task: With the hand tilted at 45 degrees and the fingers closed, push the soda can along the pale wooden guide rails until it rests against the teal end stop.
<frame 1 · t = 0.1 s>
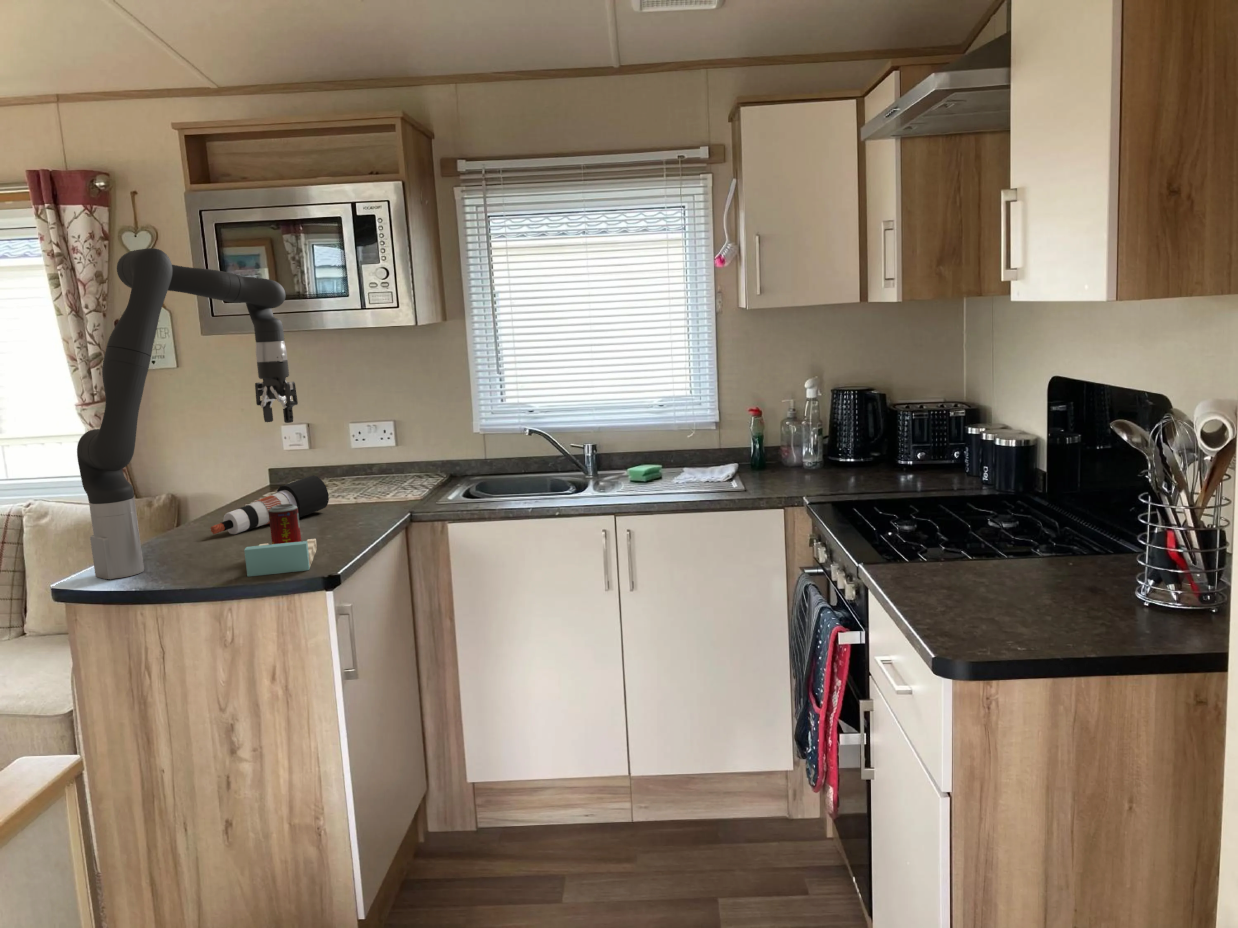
hand: (278, 422, 257), 29 cm above the worktop, tool pointing down, fingers open, 8 cm apart
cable: (269, 525, 272), on the worktop
guide rails: (284, 560, 230), on the worktop
soda can: (288, 554, 237), on the worktop
end stop: (279, 571, 220), on the worktop
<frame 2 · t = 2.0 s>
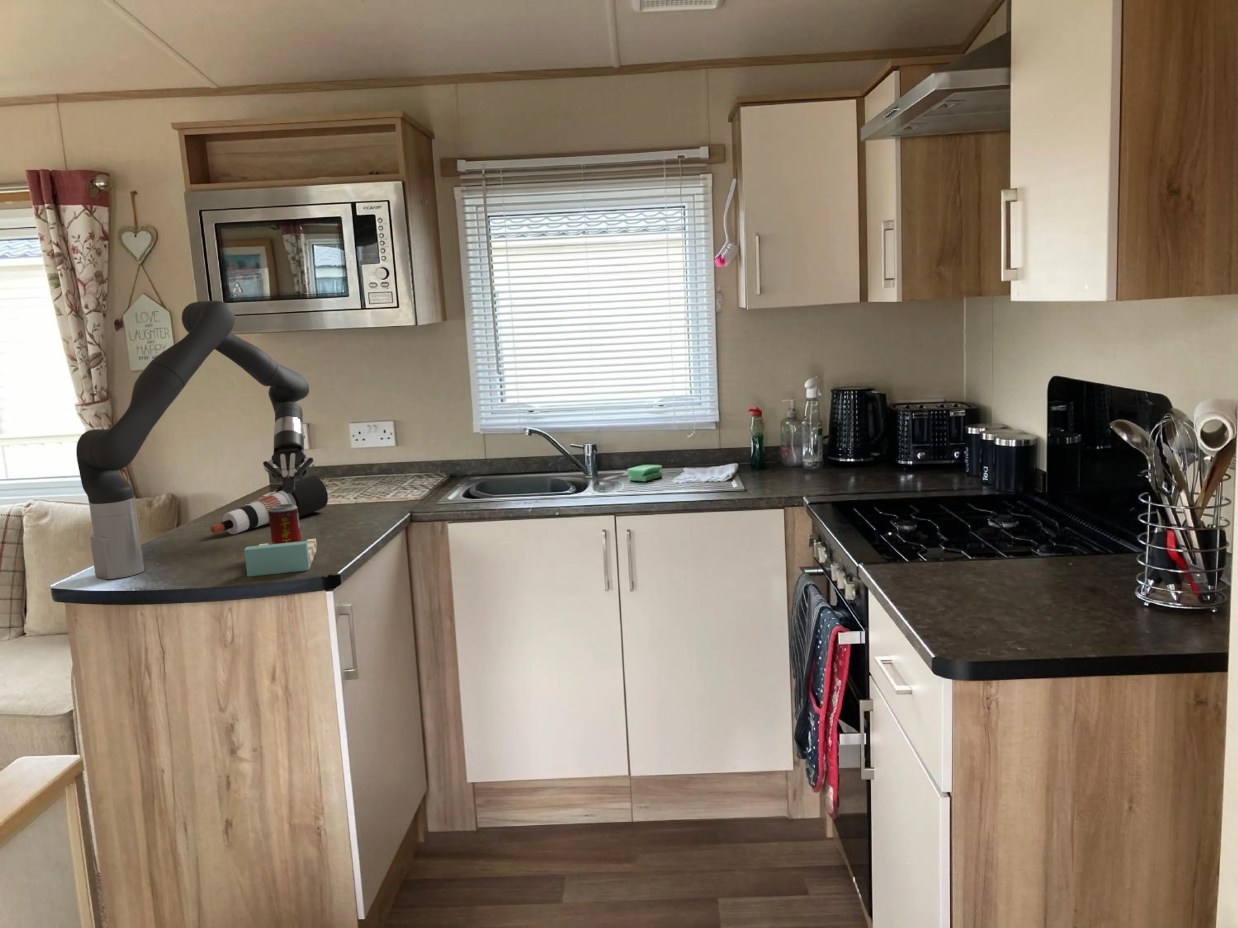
hand: (288, 491, 250), 12 cm above the worktop, tool tilted 45°, fingers closed
nothing on the worktop moved.
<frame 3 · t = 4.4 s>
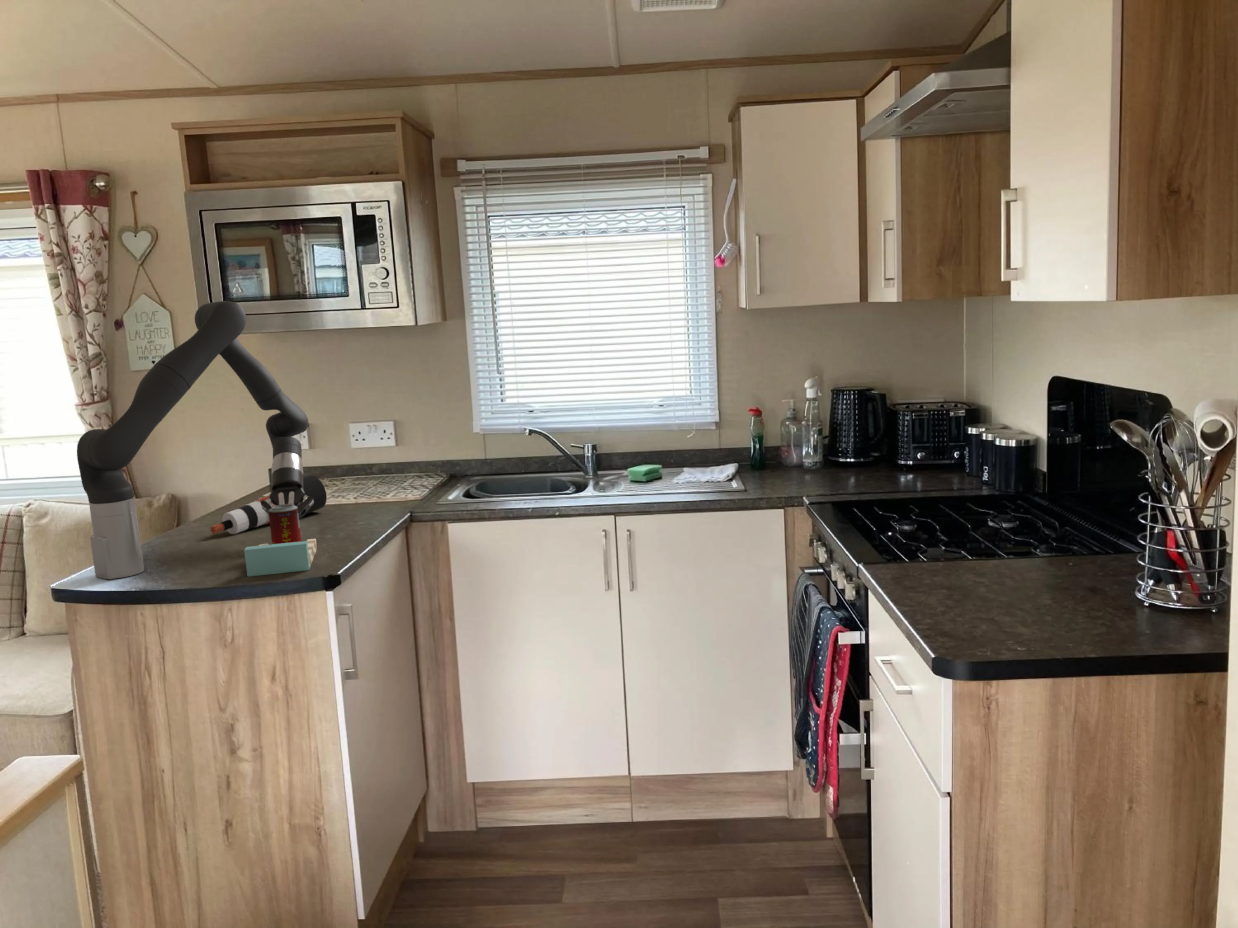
hand: (287, 532, 240), 4 cm above the worktop, tool tilted 45°, fingers closed
soda can: (288, 554, 237), on the worktop, touching gripper
everything else where it was.
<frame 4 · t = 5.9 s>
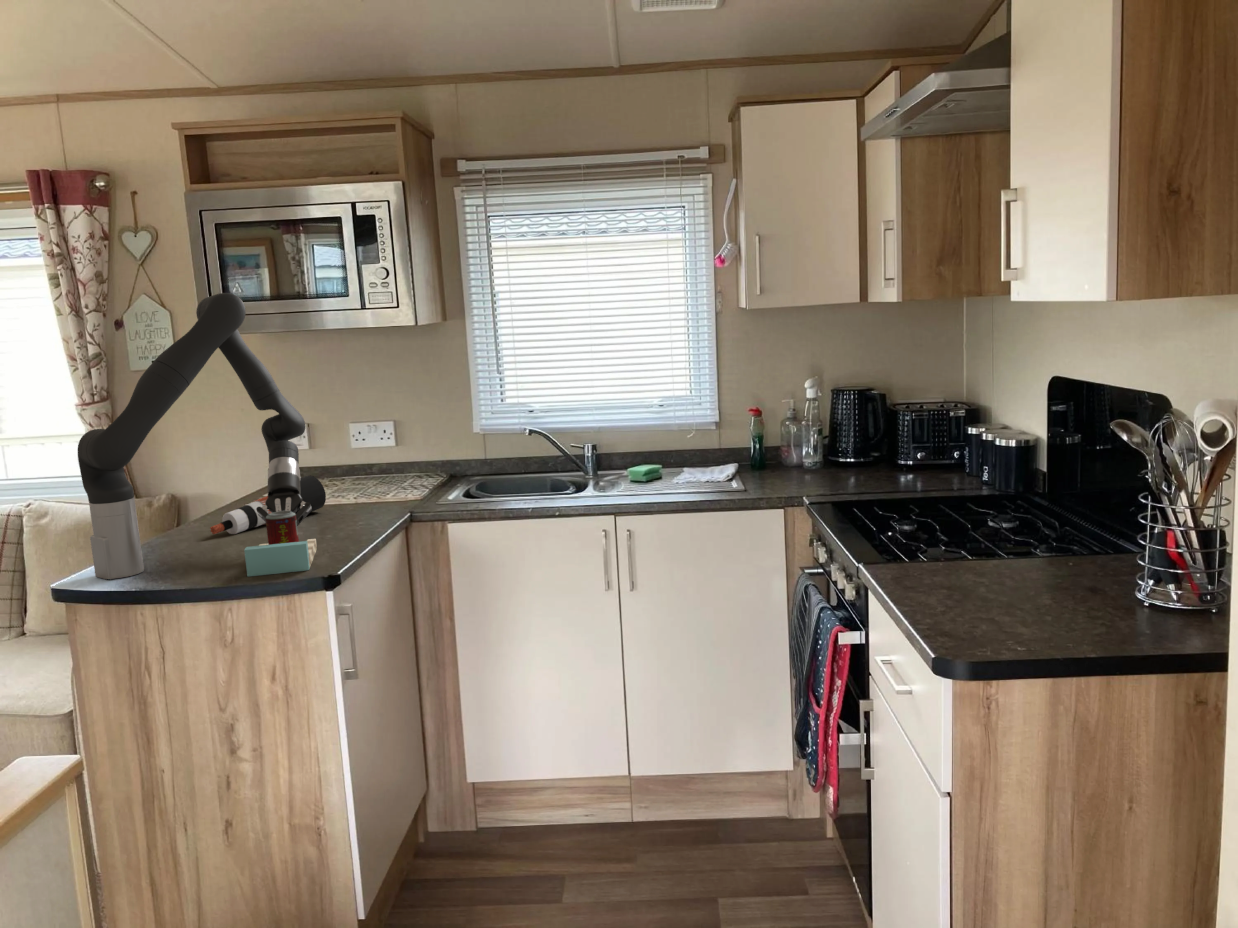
hand: (284, 540, 232), 4 cm above the worktop, tool tilted 45°, fingers closed
soda can: (285, 562, 229), on the worktop, touching gripper
everything else where it was.
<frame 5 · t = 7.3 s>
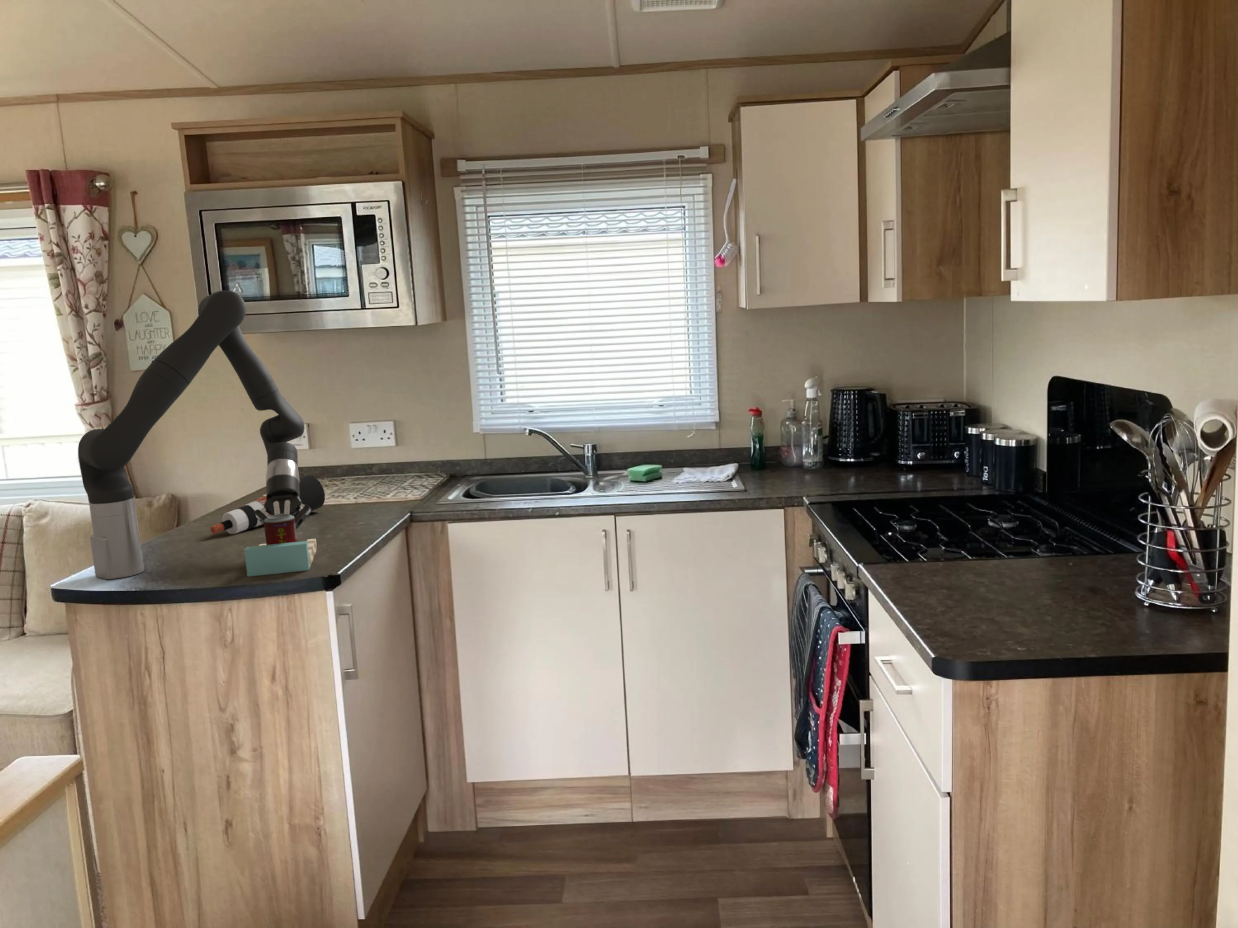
hand: (283, 543, 228), 4 cm above the worktop, tool tilted 45°, fingers closed
soda can: (284, 566, 225), on the worktop, touching gripper
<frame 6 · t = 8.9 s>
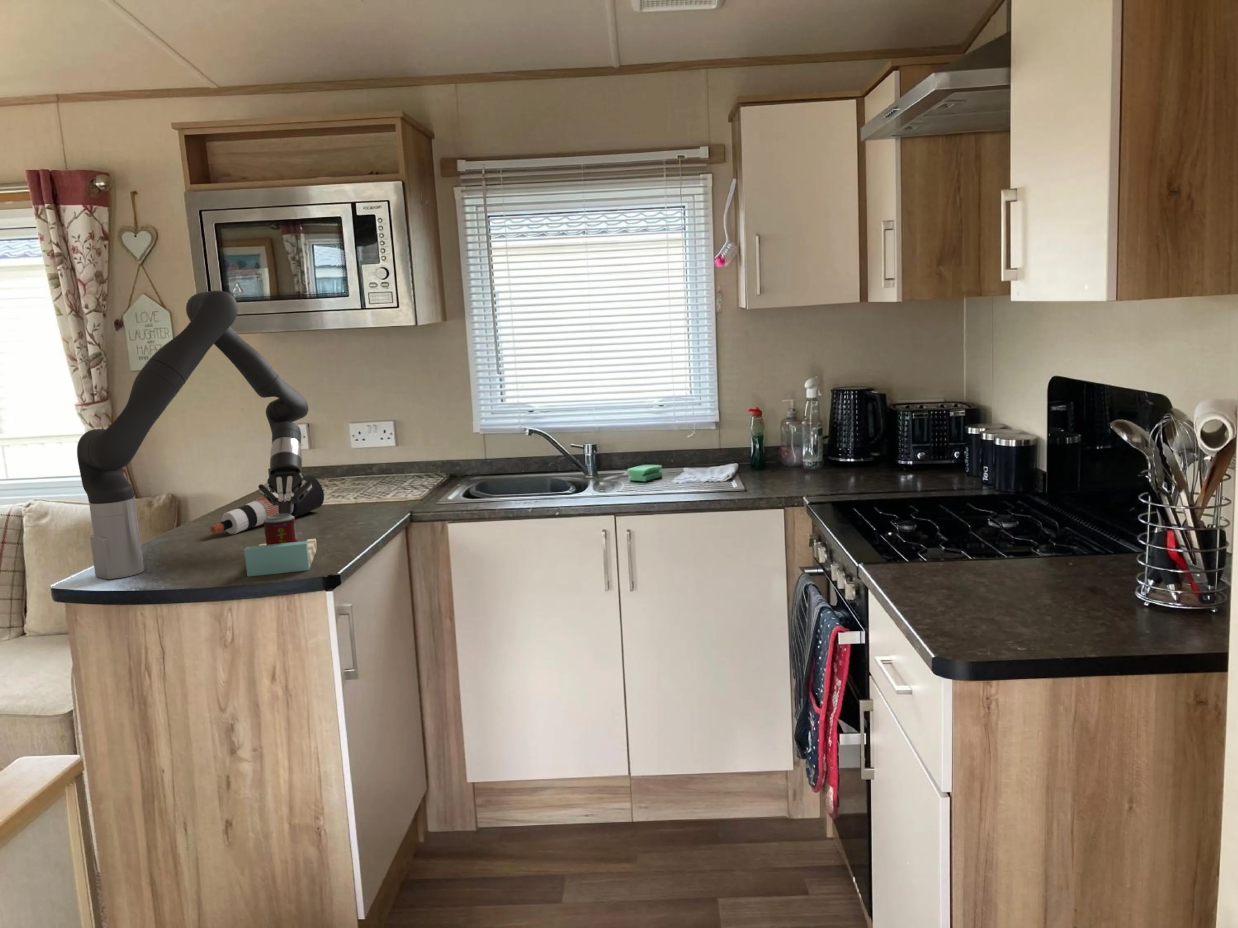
hand: (285, 516, 238), 8 cm above the worktop, tool tilted 45°, fingers closed
soda can: (284, 566, 225), on the worktop
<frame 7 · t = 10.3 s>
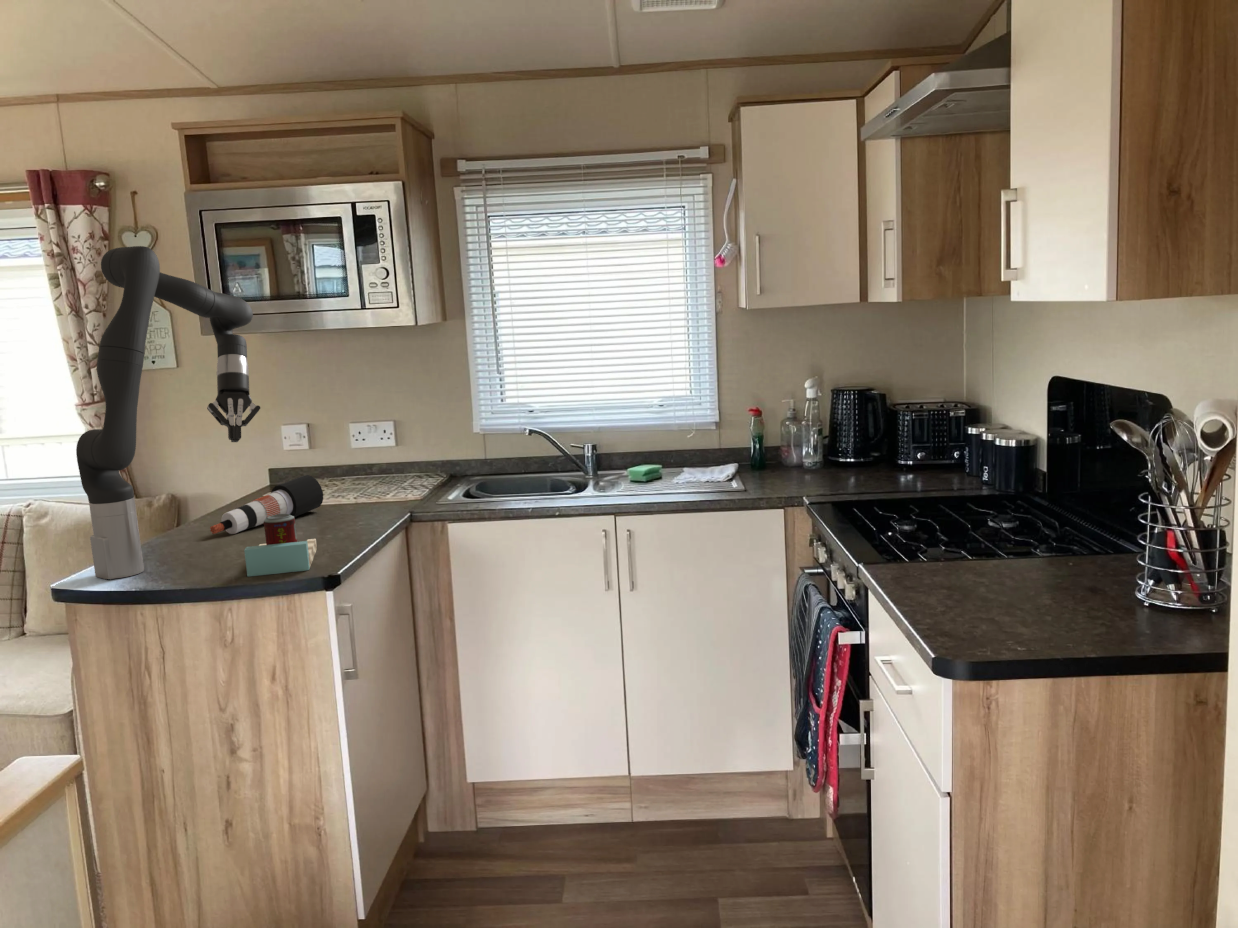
hand: (235, 441, 247), 26 cm above the worktop, tool tilted 25°, fingers closed
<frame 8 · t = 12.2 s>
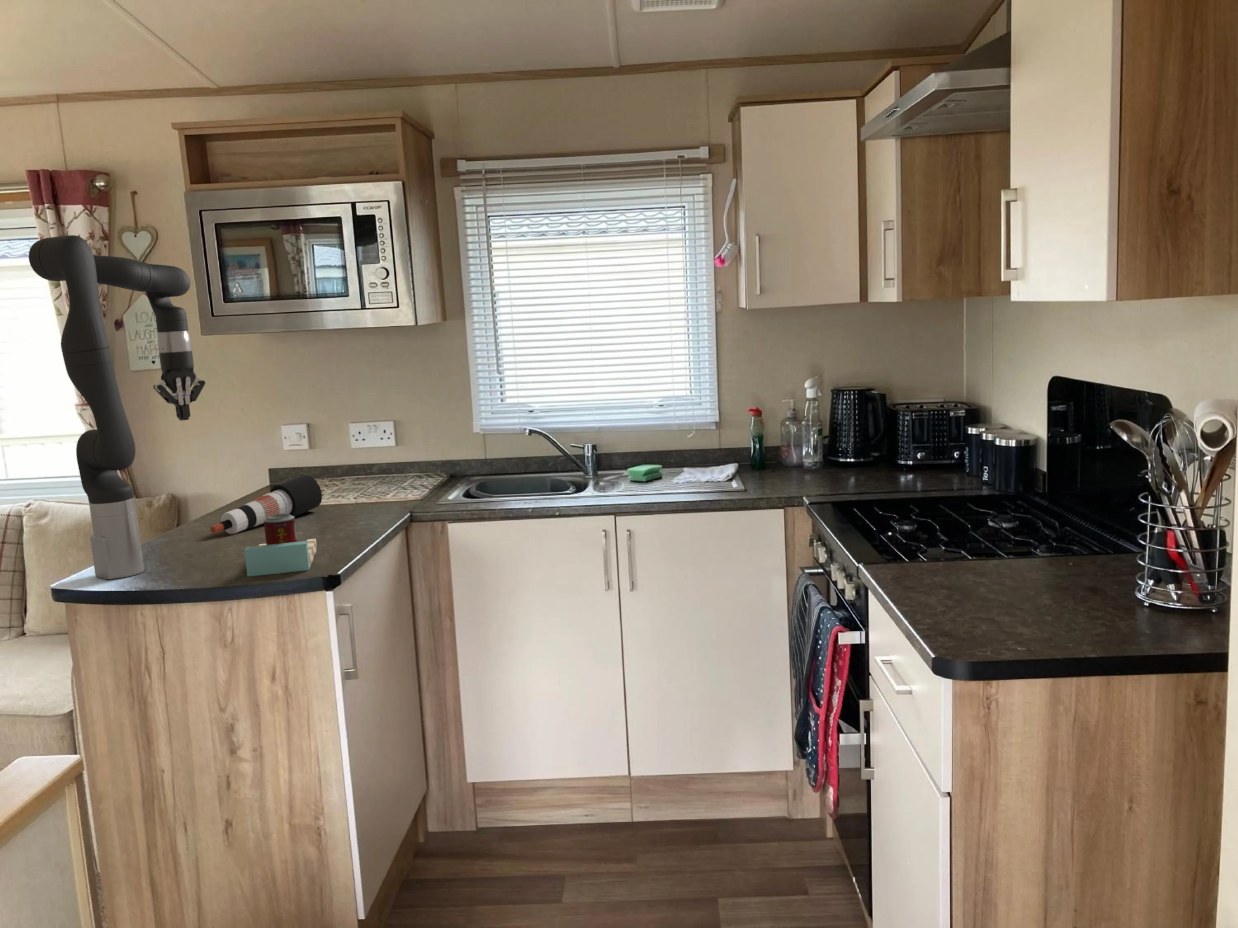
hand: (184, 419, 247), 32 cm above the worktop, tool pointing down, fingers closed
at the end: soda can 5.1 cm from the end stop (horizontally); soda can tilted 1°; soda can moved 12.4 cm from its start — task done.
